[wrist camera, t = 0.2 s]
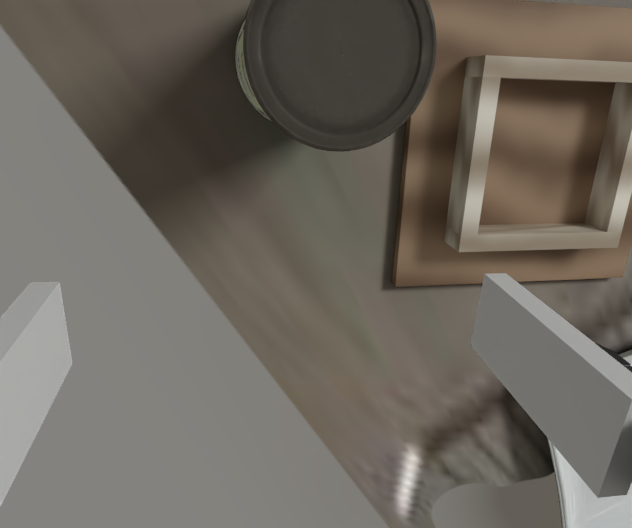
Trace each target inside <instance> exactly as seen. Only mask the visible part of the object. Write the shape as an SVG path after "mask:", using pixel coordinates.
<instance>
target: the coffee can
mask: <svg viewBox="0 0 632 528" xmlns="http://www.w3.org/2000/svg"><path fill="white" fill-rule="evenodd" d="M436 48H437V41H436V27H435V20H434V16H433V12H432V8H431V5H430V2H429V0H251V2H250V5H249V8H248V11H247V15H246V19H245V21H244V23H243V25H242V27H241V29H240V32H239V35H238V39H237V43H236V51H235V61H236V70H237V75H238V79H239V82H240V84H241V87H242V89H243V91H244V93H245V95H246V97H247V98H248V100H249V101H250V103H251V104H252V105H253V107H254V108H255V109H256V110H257V111H258V112H259V113H261V114H262V115H263V116H264V117H266V118H267V119H269V120H270V121H272V122H273V123H274V124H275V125H276V126H277V127H279V128H280V129H281V130H282V131H283V132H284V133H286V134H287V135H289V136H290V137H291V138H293V139H295V140H297V141H298V142H300V143H303V144H305V145H307V146H310V147H313V148H316V149H321V150H326V151H351V150H357V149H362V148H365V147H368V146H371V145H373V144H376V143H378V142H380V141H382V140H383V139H385V138H386V137H388V136H390V135H391V134H392V133H394V132H395V131H396V130H397V129H399V128H400V127H401V126H402V125H403V124H404V123H405V122H406V121H407V120H408V119H409V118H410V117H411V115H412V114H413V113H414V112H415V110H416V109H417V107H418V106H419V104H420V102H421V101H422V99H423V97H424V95H425V93H426V91H427V89H428V86H429V83H430V80H431V77H432V74H433V70H434V66H435V60H436Z"/></svg>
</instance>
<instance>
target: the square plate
mask: <svg viewBox="0 0 632 528" xmlns="http://www.w3.org/2000/svg"><path fill="white" fill-rule="evenodd" d="M619 356H621V357H622V358H623V359H625V360H626V361H627V362H629V363H630V366H632V350H629V351H627V352H624V353H622V354H619ZM547 439H548V438H547ZM548 444H549V448H550V453H551V457H552V462H553V467H554V471H555V477H556V483H557V488H558V496H559V503H560V512H561V522H562V528H632V483H631V485H630V488H629V491H628V493H627V495H621V496H611V497H601V498H597V497H596V495H595V494H594V493H593V492H592V491H591V489H590V488H589V487H588V486H587V485H586V483H585V482H584V481H583V480H582V479H581V477H580V476H579V475H578V474H577V473H576V471H575V470H574V469H573V468H572V467H571V465H570V464H569V463H568V462H567V461H566V459H565V458H564V457H563V456H562V455H561V453H560V452H559V451H558V450H557V449H556V447H555V446H554V445H553V444H552V443H551V441H550V440H549V439H548Z"/></svg>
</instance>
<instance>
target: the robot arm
mask: <svg viewBox="0 0 632 528" xmlns="http://www.w3.org/2000/svg"><path fill="white" fill-rule="evenodd" d="M471 347H472V348H473V349H474V350H475V351H476V353H477V354H478V355H479V356H480V357H481V359H482V360H483V361H484V362H485V363H486V365H487V366H488V367H489V368H490V369H491V371H492V372H493V373H494V374H495V375H496V377H497V378H498V379H499V380H500V381H501V383H502V384H503V385H504V386H505V387H506V389H507V390H508V391H509V392H510V393H511V395H512V396H513V397H514V398H515V399H516V401H517V402H518V403H519V404H520V405H521V407H522V408H523V409H524V410H525V411H526V413H527V414H528V415H529V416H530V417H531V419H532V420H533V421H534V422H535V423H536V425H537V426H538V427H539V428H540V429H541V431H542V432H543V433H544V434H545V435H546V437H547V438H548V439H549V440H550V441H551V443H552V444H553V445H554V446H555V447H556V449H557V450H558V451H559V452H560V453H561V455H562V456H563V457H564V458H565V459H566V461H567V462H568V463H569V464H570V465H571V467H572V468H573V469H574V470H575V471H576V473H577V474H578V475H579V476H580V477H581V479H582V480H583V481H584V482H585V483H586V485H587V486H588V487H589V488H590V489H591V491H592V492H593V493H594V494H595V495H596V497H597V498H601V497H611V496H621V495H627V493H628V491H629V488H630V485H631V483H632V366H630V363H629V362H627V361H626V360H625V359H623V358H622V357H621V356H619V355H618V354H617V353H615V352H613V351H611V350H609V349H607V348H605V347H603V346H601V345H599V344H597V343H594V342H593V341H591V340H590V339H589V338H588V337H586V336H585V335H584V334H582V333H581V332H580V331H579V330H577V329H576V328H575V327H574V326H572V325H571V324H570V323H568V322H567V321H566V320H565V319H563V318H562V317H561V316H560V315H558V314H557V313H556V312H554V311H553V310H552V309H551V308H549V307H548V306H547V305H546V304H544V303H543V302H542V301H540V300H539V299H538V298H537V297H535V296H534V295H533V294H532V293H530V292H529V291H528V290H527V289H525V288H524V287H523V286H521V285H520V284H519V283H518V282H516V281H515V280H514V279H513V278H511V277H510V276H509V275H507V274H506V273H492V274H484V279H483V284H482V289H481V294H480V299H479V304H478V310H477V315H476V320H475V325H474V330H473V335H472V341H471ZM71 365H72V359H71V352H70V345H69V339H68V332H67V327H66V320H65V314H64V307H63V301H62V294H61V288H60V282H31V283H30V284H29V285H28V286H27V287H26V288H25V290H24V291H23V292H22V293H21V294H20V295H19V297H18V298H17V299H16V300H15V301H14V302H13V304H12V305H11V306H10V307H9V308H8V309H7V311H6V312H5V313H4V314H3V315H2V316H1V317H0V506H1V504H2V502H3V500H4V498H5V496H6V494H7V492H8V490H9V488H10V486H11V484H12V482H13V480H14V478H15V476H16V474H17V472H18V470H19V468H20V466H21V464H22V462H23V460H24V458H25V456H26V454H27V452H28V450H29V449H30V447H31V445H32V443H33V441H34V439H35V437H36V435H37V433H38V430H39V429H40V427H41V425H42V423H43V421H44V419H45V417H46V415H47V413H48V411H49V409H50V407H51V405H52V403H53V401H54V399H55V397H56V395H57V393H58V391H59V389H60V387H61V385H62V383H63V381H64V379H65V377H66V375H67V373H68V371H69V369H70V367H71Z"/></svg>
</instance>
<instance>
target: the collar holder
mask: <svg viewBox="0 0 632 528" xmlns="http://www.w3.org/2000/svg"><path fill="white" fill-rule="evenodd" d="M429 2H430V5H431V8H432V12H433V16H434V20H435V27H436V41H437V48H436V60H435V66H434V70H433V74H432V77H431V80H430V83H429V86H428V89H427V91H426V93H425V95H424V97H423V99H422V101H421V102H420V104H419V106H418V107H417V109H416V110H415V112H414V113H413V114H412V115H411V117H410V118H409V119H408V120H407V121H406V132H405V143H404V154H403V165H402V176H401V187H400V198H399V209H398V220H397V231H396V242H395V253H394V264H393V275H392V284H393V285H394V286H395V287H404V286H428V285H452V284H476V283H483V279H484V274H492V273H506V274H507V275H509V276H510V277H511V278H513V279H514V280H515V281H516V282H524V281H548V280H572V279H596V278H620V277H623V274H624V270H625V266H626V262H627V258H628V255H629V251H630V247H631V243H632V8H617V7H603V6H589V5H575V4H561V3H546V2H532V1H518V0H429Z"/></svg>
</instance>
